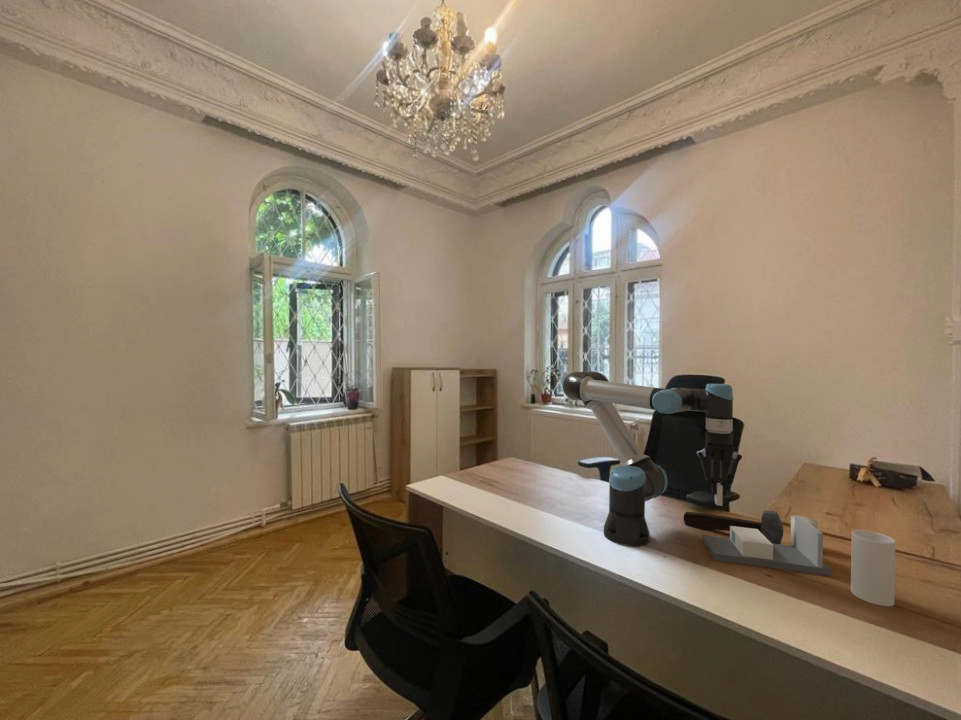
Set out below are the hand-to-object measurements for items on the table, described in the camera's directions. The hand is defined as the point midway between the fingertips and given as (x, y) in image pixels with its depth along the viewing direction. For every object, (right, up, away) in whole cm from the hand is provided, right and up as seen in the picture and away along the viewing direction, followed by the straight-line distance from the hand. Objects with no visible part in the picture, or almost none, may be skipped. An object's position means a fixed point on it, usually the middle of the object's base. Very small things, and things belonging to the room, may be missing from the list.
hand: (718, 504), depth 129 cm
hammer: (+12, -16, +13) cm, 24 cm away
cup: (+26, -16, -24) cm, 39 cm away
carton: (+9, -13, -2) cm, 16 cm away
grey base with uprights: (+11, -15, -3) cm, 20 cm away
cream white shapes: (+31, -16, +5) cm, 36 cm away
